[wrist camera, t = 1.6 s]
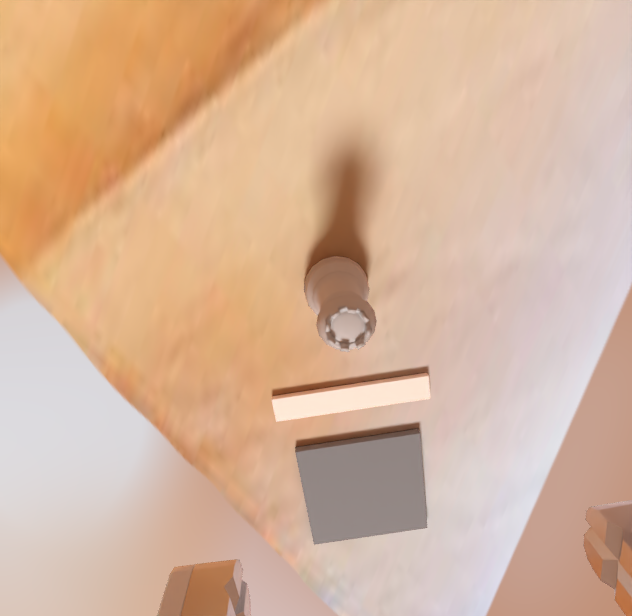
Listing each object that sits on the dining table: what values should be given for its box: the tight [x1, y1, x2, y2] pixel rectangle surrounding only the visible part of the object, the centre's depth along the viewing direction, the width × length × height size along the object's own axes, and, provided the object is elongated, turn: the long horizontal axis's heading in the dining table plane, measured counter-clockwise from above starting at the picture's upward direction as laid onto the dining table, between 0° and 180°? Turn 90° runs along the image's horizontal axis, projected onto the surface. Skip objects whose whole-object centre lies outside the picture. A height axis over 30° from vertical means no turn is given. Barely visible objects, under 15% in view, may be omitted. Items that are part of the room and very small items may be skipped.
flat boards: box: [272, 373, 430, 544], centre depth 35 cm, size 15×12×1 cm
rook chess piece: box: [304, 256, 376, 352], centre depth 26 cm, size 4×4×8 cm
